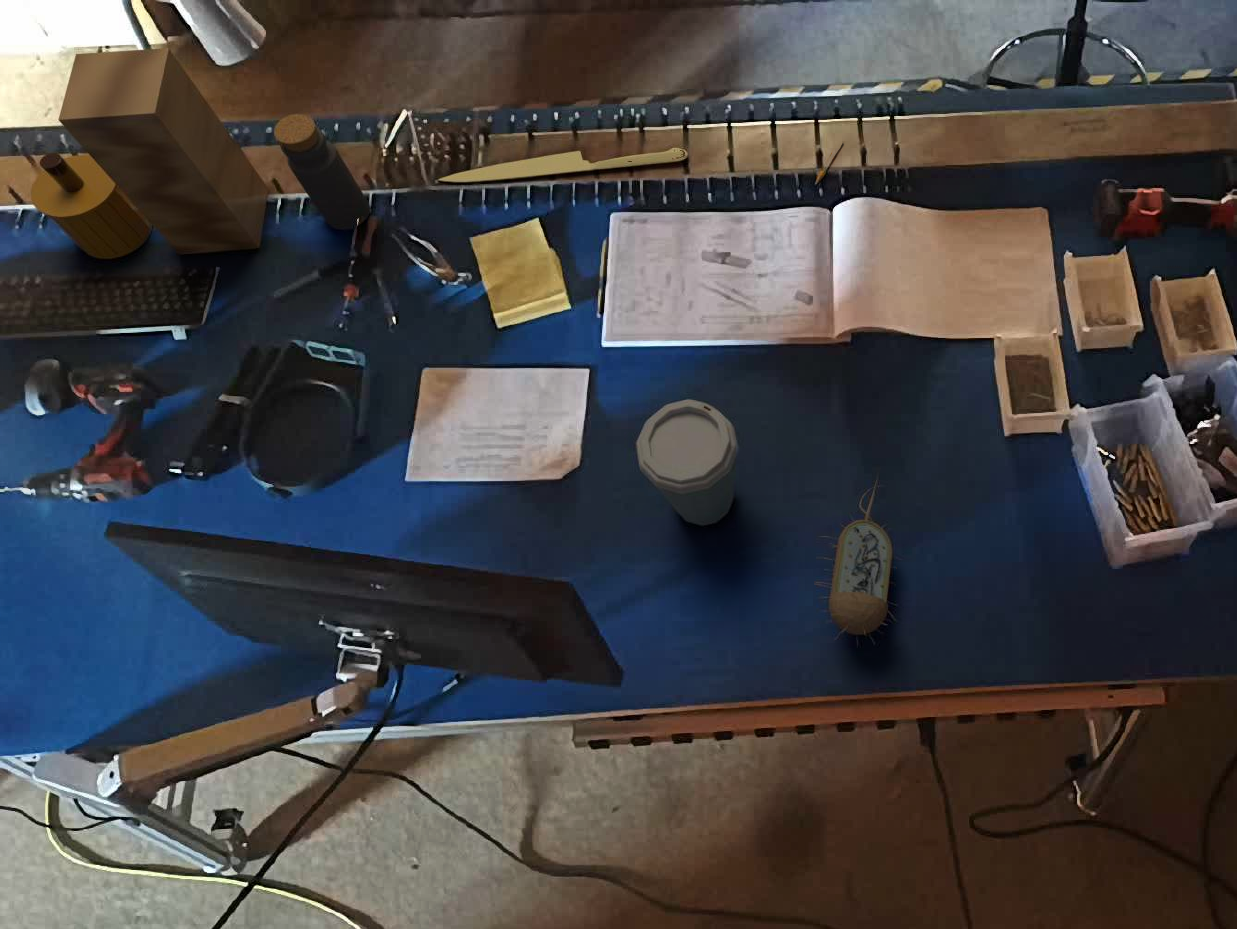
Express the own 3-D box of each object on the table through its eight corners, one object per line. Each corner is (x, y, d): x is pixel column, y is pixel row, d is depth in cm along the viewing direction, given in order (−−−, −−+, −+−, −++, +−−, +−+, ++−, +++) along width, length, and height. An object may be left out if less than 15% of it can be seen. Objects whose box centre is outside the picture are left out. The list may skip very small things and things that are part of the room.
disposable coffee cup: (713, 558, 120) (696, 502, 107) (637, 513, 122) (610, 451, 109) (766, 487, 124) (756, 424, 111) (691, 444, 126) (672, 377, 113)
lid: (15, 195, 129) (-13, 168, 125) (82, 145, 133) (57, 117, 129) (69, 232, 127) (42, 205, 123) (136, 180, 131) (112, 152, 127)
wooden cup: (63, 237, 136) (19, 195, 129) (120, 193, 140) (81, 149, 133) (110, 270, 135) (68, 228, 127) (167, 224, 138) (130, 181, 131)
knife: (436, 162, 143) (434, 185, 141) (685, 134, 146) (687, 155, 144) (439, 170, 144) (438, 192, 142) (686, 141, 147) (689, 163, 145)
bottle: (315, 219, 139) (257, 135, 125) (345, 189, 141) (291, 103, 128) (350, 237, 138) (296, 153, 124) (380, 206, 140) (330, 121, 127)
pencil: (843, 144, 148) (843, 140, 147) (817, 187, 144) (817, 184, 144) (838, 142, 148) (838, 139, 147) (812, 185, 144) (812, 182, 144)
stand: (178, 254, 136) (57, 119, 115) (190, 194, 140) (75, 53, 119) (259, 248, 137) (154, 113, 116) (268, 188, 141) (168, 47, 120)
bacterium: (893, 499, 126) (939, 470, 118) (873, 663, 118) (920, 644, 110) (815, 470, 122) (856, 438, 114) (788, 639, 113) (830, 617, 105)
